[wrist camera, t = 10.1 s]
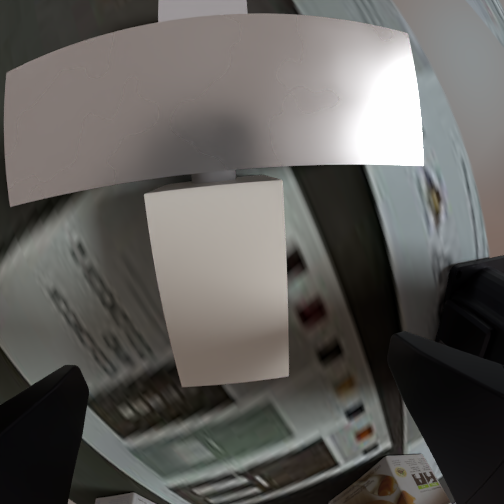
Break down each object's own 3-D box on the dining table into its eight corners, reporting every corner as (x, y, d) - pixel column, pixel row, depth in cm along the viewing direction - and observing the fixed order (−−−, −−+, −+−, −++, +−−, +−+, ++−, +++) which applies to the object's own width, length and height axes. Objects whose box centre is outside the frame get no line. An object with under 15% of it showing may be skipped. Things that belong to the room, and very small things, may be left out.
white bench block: (336, 77, 12) (408, 33, 6) (342, 161, 13) (423, 166, 7) (84, 101, 11) (6, 72, 5) (89, 186, 12) (10, 206, 6)
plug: (249, 6, 10) (261, -42, 6) (272, 341, 15) (288, 394, 11) (159, 15, 10) (140, -31, 6) (192, 349, 14) (187, 405, 11)
